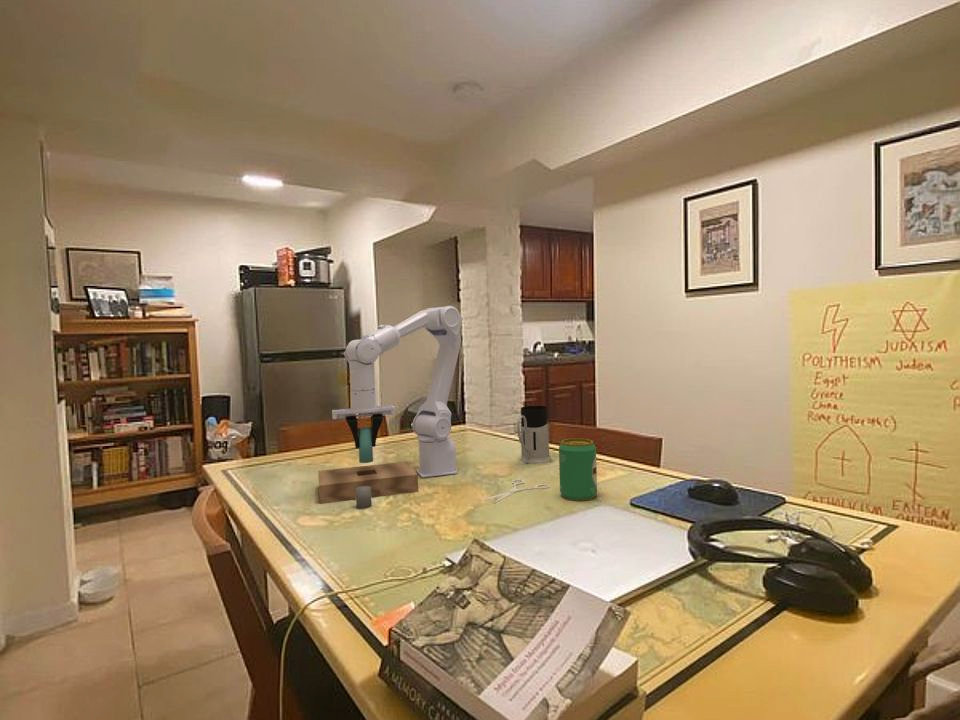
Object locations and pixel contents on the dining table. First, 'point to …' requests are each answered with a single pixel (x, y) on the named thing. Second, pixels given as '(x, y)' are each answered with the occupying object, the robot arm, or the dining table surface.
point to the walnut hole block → (367, 481)
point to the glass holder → (534, 434)
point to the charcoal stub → (363, 497)
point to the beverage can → (578, 469)
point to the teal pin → (365, 445)
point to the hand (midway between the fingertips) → (365, 446)
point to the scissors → (517, 489)
